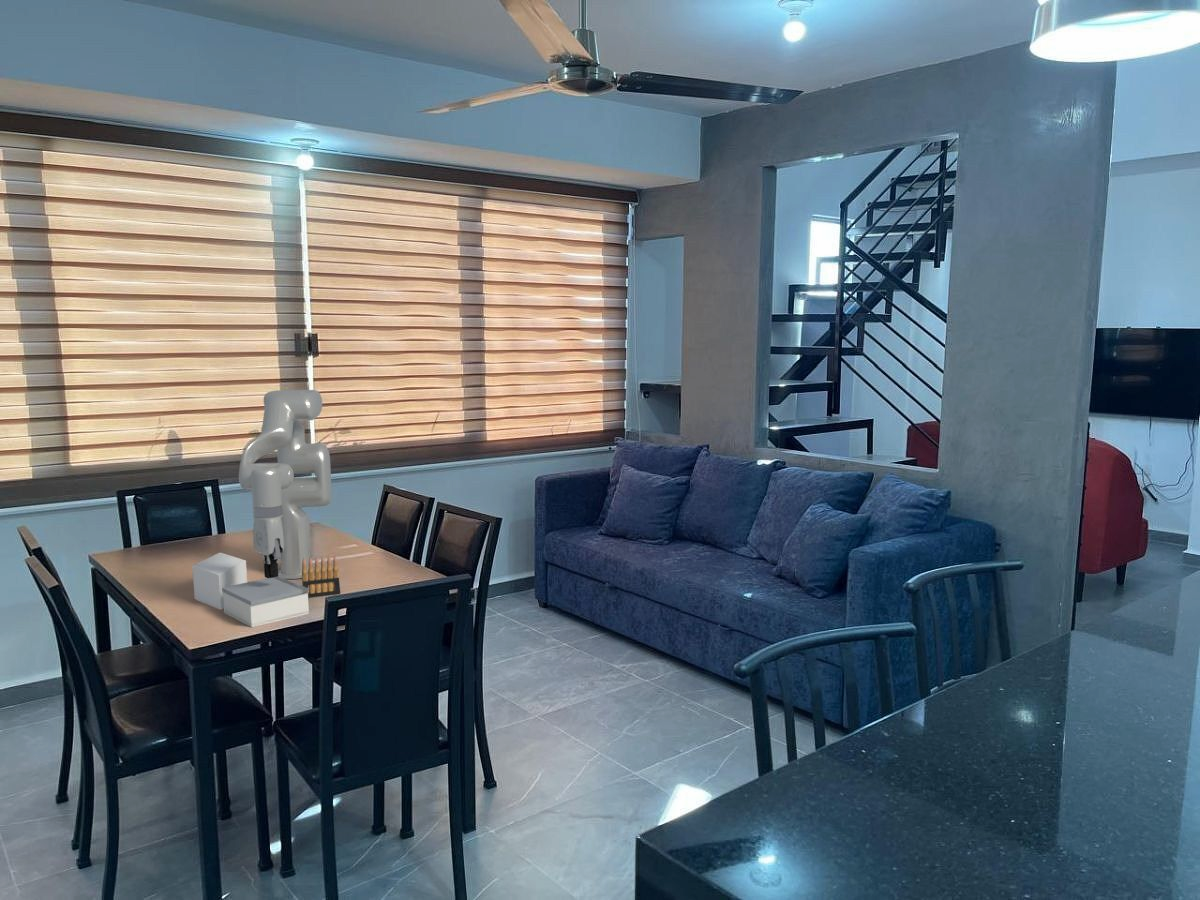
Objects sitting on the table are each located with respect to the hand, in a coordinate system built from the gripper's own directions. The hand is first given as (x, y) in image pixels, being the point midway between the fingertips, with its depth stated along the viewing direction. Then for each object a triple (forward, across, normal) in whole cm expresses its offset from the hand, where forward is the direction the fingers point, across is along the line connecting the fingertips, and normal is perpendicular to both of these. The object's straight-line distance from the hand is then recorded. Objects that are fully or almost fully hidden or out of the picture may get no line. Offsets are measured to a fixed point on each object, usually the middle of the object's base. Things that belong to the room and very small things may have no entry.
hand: (271, 576), depth 240 cm
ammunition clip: (+10, -5, +17) cm, 20 cm away
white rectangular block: (+10, -26, -4) cm, 28 cm away
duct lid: (+4, 0, -2) cm, 4 cm away
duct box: (+10, 0, -2) cm, 10 cm away
